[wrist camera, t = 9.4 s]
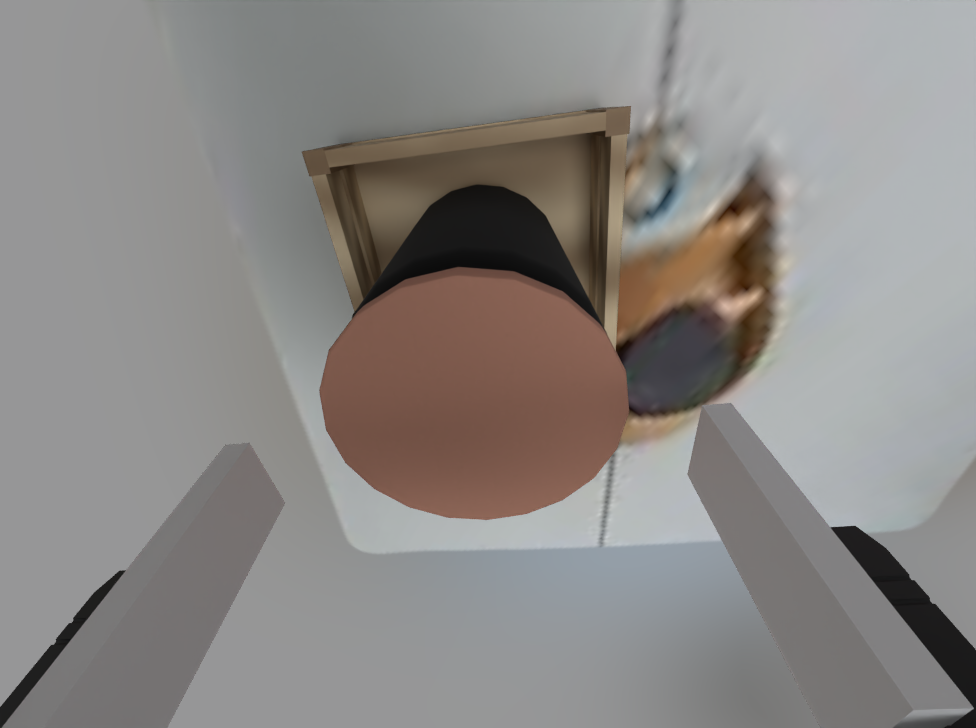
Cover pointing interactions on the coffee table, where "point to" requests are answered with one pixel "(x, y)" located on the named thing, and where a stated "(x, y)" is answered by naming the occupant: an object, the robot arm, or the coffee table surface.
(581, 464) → the coffee jar
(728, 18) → the coffee table surface
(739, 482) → the robot arm
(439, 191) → the pine crate
